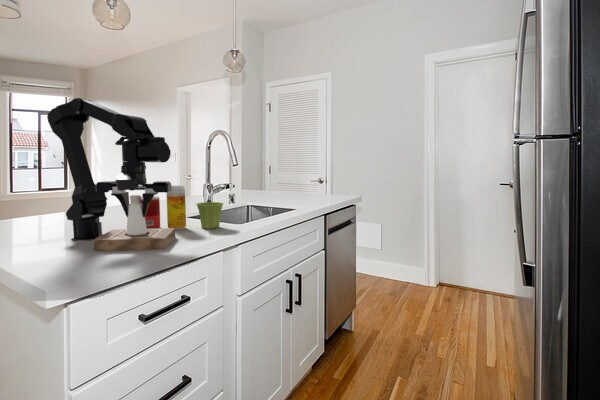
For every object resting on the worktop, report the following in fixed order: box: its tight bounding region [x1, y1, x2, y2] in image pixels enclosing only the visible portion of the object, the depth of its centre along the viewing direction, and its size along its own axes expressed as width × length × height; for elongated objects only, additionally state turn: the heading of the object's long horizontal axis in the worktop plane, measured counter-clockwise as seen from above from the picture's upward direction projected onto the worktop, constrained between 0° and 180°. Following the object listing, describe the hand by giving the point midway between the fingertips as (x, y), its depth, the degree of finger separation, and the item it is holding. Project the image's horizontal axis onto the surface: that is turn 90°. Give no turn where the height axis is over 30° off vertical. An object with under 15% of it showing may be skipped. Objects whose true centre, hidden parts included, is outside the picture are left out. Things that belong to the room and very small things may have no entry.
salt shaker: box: [126, 194, 147, 236], centre depth 99 cm, size 5×5×11 cm
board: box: [92, 227, 176, 252], centre depth 100 cm, size 18×14×3 cm
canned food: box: [140, 195, 161, 229], centre depth 121 cm, size 8×8×11 cm
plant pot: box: [195, 201, 224, 230], centre depth 124 cm, size 9×9×9 cm
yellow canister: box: [165, 185, 187, 231], centre depth 121 cm, size 6×6×15 cm
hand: (136, 217), depth 99 cm, fingers closed on salt shaker, 4 cm apart
